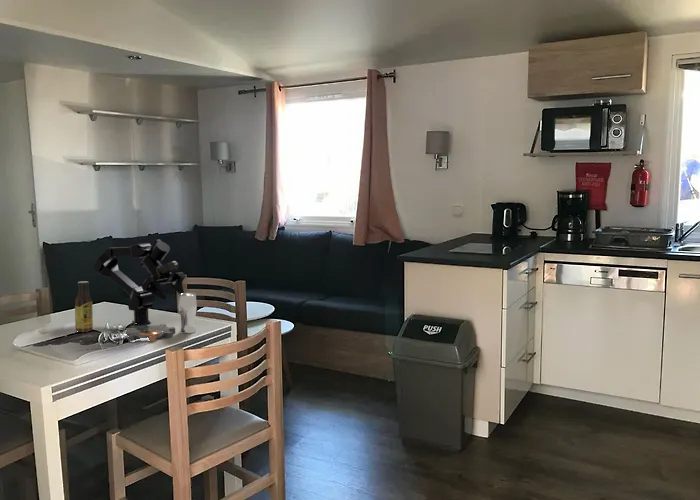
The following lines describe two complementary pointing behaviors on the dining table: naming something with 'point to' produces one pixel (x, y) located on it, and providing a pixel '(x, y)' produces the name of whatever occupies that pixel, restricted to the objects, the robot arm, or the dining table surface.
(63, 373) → the dining table surface
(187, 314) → the beer glass
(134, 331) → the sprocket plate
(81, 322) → the sauce bottle
